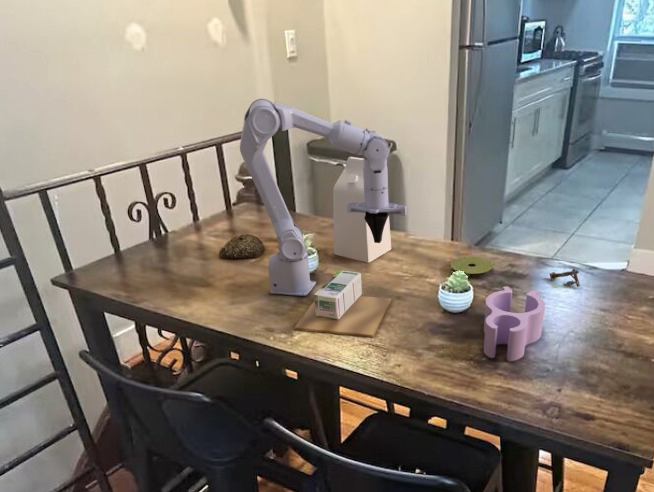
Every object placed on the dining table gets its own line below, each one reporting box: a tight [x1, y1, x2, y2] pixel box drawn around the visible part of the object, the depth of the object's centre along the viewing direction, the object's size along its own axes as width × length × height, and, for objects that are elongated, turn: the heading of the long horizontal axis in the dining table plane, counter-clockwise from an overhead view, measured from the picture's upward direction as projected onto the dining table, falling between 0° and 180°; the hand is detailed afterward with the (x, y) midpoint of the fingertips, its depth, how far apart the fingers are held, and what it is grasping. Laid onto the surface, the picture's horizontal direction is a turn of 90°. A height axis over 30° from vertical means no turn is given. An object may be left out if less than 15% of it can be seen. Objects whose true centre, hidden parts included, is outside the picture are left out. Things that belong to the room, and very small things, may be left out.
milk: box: [332, 156, 392, 264], centre depth 164 cm, size 12×12×26 cm
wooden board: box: [293, 295, 392, 338], centre depth 139 cm, size 18×18×1 cm
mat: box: [450, 256, 494, 275], centre depth 158 cm, size 11×11×2 cm
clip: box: [483, 285, 546, 362], centre depth 127 cm, size 20×12×7 cm, turn 160°
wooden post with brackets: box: [549, 268, 581, 288], centre depth 151 cm, size 2×8×4 cm, turn 44°
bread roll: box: [218, 233, 265, 259], centre depth 171 cm, size 13×12×5 cm
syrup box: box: [313, 269, 363, 320], centre depth 140 cm, size 6×6×14 cm
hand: (378, 241), depth 149 cm, fingers closed
